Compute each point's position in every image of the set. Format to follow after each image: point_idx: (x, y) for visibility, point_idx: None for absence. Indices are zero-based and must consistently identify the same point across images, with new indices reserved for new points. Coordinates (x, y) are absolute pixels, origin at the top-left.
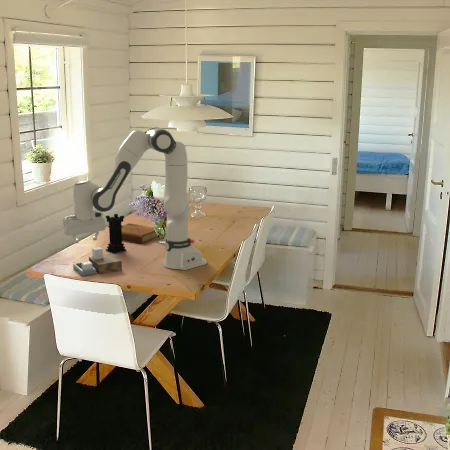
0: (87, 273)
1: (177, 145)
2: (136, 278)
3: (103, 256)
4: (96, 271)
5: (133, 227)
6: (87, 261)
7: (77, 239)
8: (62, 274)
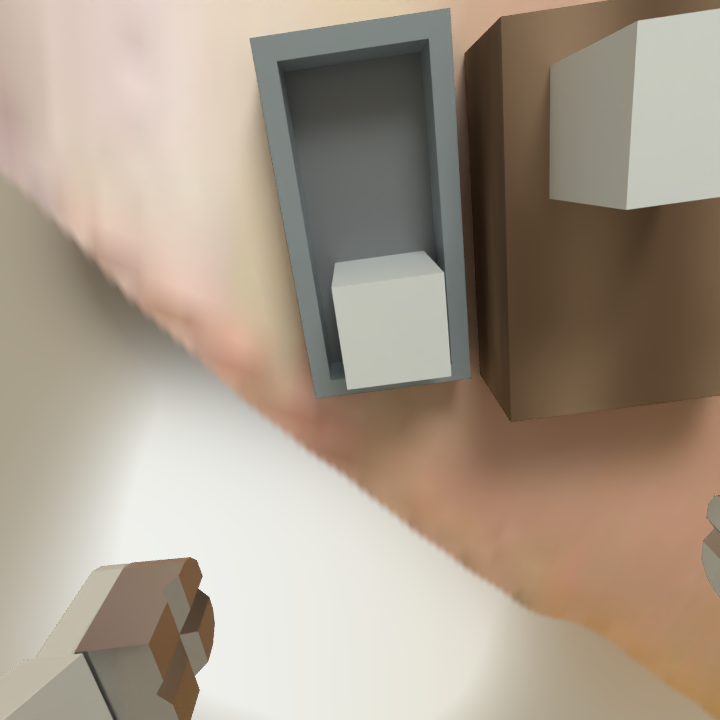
0: None
1: None
2: None
3: None
4: (479, 308)
5: None
6: (414, 283)
7: (163, 706)
8: (123, 236)
